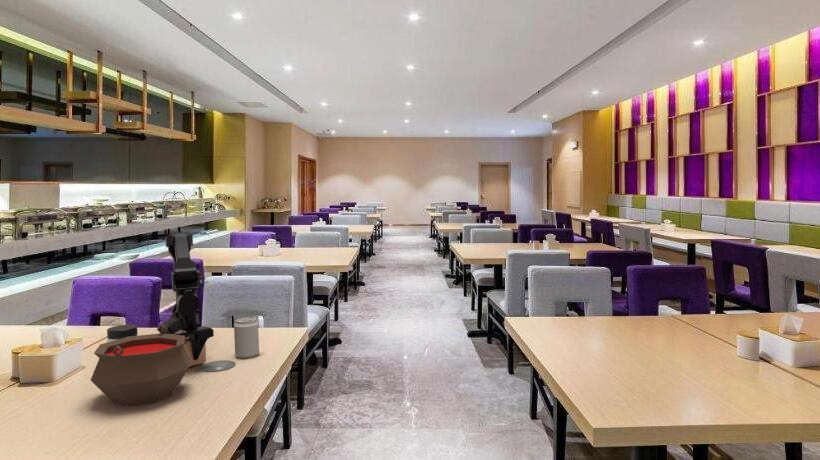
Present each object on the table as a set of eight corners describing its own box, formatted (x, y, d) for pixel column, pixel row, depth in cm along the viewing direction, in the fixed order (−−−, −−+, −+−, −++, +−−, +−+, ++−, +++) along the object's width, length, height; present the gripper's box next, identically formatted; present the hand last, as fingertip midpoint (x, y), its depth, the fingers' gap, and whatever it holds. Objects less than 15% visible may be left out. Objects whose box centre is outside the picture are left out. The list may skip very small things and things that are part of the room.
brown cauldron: (125, 380, 151) (122, 323, 150) (208, 379, 150) (206, 322, 149) (68, 414, 127) (64, 347, 126) (167, 414, 126) (164, 346, 125)
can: (252, 359, 168) (250, 322, 167) (230, 358, 169) (229, 321, 168) (263, 352, 175) (262, 316, 174) (242, 351, 177) (241, 316, 176)
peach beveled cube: (172, 363, 163) (171, 341, 162) (193, 357, 168) (192, 336, 168) (184, 367, 159) (183, 344, 158) (206, 361, 164) (205, 339, 164)
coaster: (193, 368, 160) (193, 366, 160) (222, 359, 168) (222, 358, 168) (213, 374, 154) (213, 372, 154) (242, 364, 162) (242, 363, 162)
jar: (137, 368, 161) (135, 329, 160) (106, 372, 158) (104, 332, 157) (140, 360, 169) (139, 323, 168) (111, 363, 166) (109, 325, 165)
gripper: (145, 308, 161) (147, 359, 162) (178, 316, 150) (181, 370, 151) (179, 302, 170) (181, 350, 171) (213, 308, 159) (215, 360, 160)
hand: (189, 357), depth 163 cm, fingers closed on peach beveled cube, 7 cm apart
